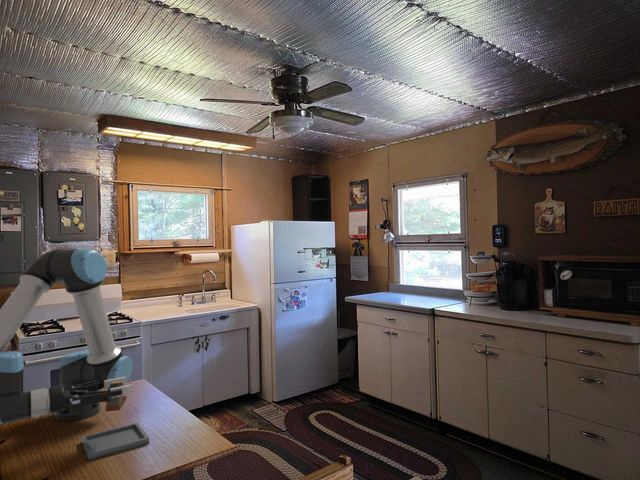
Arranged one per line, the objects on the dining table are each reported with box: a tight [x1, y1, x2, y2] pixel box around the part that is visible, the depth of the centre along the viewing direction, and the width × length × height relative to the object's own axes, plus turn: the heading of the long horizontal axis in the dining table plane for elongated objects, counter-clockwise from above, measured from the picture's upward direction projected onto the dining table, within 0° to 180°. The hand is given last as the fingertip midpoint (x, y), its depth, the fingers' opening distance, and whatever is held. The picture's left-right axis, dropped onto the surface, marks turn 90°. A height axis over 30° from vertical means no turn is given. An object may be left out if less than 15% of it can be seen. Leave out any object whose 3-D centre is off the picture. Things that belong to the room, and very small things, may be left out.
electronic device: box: [105, 381, 127, 412], centre depth 139 cm, size 4×10×8 cm, turn 13°
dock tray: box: [81, 422, 150, 462], centre depth 138 cm, size 15×17×2 cm
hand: (129, 384), depth 141 cm, fingers closed on electronic device, 9 cm apart
